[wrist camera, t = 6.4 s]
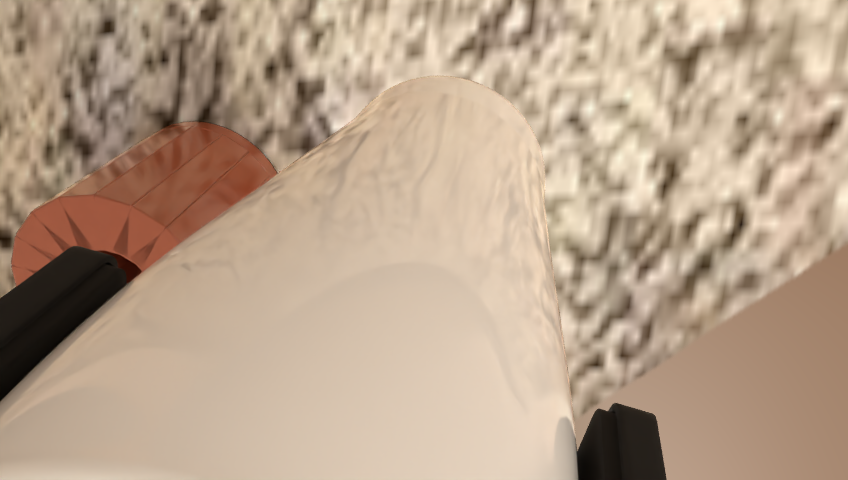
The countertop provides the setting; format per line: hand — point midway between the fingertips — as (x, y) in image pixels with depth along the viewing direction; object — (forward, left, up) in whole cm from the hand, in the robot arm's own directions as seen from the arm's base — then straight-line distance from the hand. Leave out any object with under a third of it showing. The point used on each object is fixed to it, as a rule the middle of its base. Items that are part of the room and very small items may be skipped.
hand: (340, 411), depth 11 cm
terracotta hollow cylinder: (+10, +11, -21) cm, 26 cm away
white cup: (0, 0, -10) cm, 10 cm away
